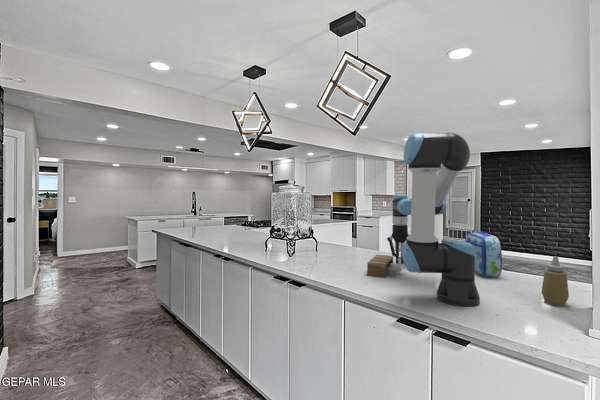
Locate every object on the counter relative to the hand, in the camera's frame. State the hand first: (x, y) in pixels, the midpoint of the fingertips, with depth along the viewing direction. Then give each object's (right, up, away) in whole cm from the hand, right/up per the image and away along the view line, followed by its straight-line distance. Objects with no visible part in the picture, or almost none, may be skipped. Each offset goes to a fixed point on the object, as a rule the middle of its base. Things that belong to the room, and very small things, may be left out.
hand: (399, 270), depth 163 cm
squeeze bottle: (+45, -3, -44) cm, 63 cm away
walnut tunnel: (-9, -2, +4) cm, 10 cm away
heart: (+15, -2, +22) cm, 26 cm away
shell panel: (-6, -2, +3) cm, 7 cm away
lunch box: (+44, -2, +2) cm, 44 cm away
